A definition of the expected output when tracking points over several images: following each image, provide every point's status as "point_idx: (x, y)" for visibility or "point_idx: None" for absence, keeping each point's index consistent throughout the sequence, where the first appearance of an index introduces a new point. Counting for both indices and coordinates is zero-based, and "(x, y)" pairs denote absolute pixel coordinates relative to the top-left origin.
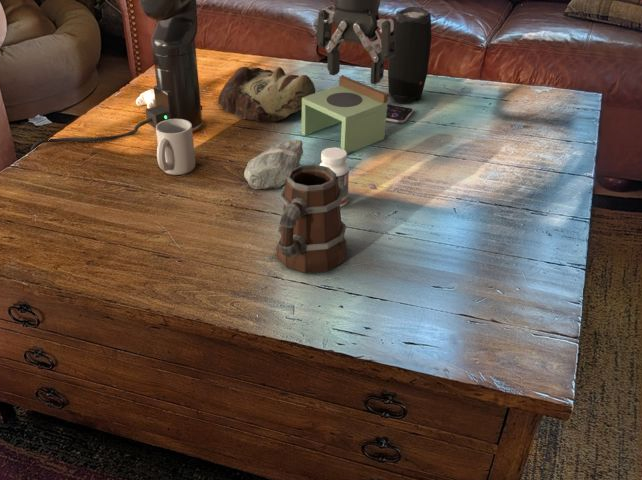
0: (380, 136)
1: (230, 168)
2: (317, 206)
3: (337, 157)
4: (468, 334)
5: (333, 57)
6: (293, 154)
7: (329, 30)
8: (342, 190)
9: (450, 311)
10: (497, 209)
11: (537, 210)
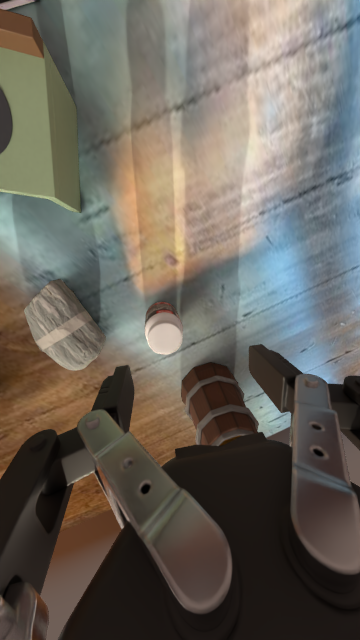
0: (74, 115)
1: (17, 345)
2: None
3: (177, 344)
4: (337, 372)
5: (128, 427)
6: (82, 322)
7: (34, 509)
8: (250, 413)
9: (320, 363)
10: (305, 203)
11: (341, 172)
